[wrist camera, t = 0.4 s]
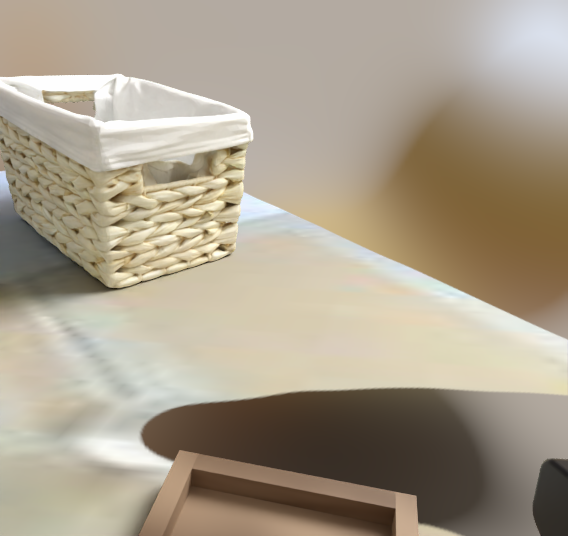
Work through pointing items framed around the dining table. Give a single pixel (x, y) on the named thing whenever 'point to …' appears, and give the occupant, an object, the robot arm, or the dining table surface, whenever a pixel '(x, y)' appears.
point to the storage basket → (124, 172)
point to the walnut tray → (271, 503)
